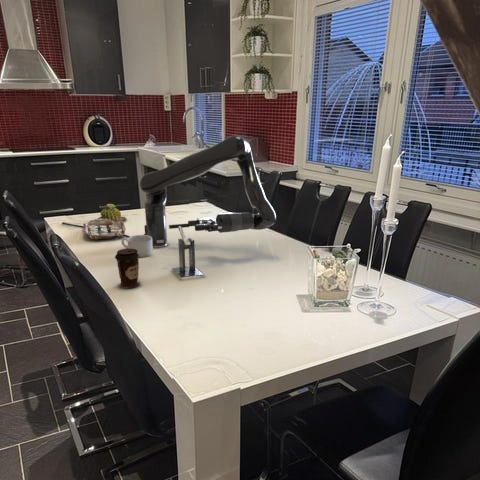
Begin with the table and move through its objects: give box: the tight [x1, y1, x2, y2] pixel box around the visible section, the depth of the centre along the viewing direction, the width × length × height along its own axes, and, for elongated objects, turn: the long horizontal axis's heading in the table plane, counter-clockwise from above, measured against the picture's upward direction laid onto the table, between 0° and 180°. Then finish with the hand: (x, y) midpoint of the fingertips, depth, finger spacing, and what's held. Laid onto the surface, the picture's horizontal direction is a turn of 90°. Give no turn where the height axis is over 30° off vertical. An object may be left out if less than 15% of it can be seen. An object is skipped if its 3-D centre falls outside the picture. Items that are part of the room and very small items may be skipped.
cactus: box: [97, 203, 127, 223], centre depth 266 cm, size 17×16×10 cm
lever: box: [168, 222, 191, 250], centre depth 180 cm, size 12×8×2 cm
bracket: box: [172, 237, 204, 279], centre depth 180 cm, size 12×9×14 cm
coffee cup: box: [114, 248, 140, 289], centre depth 167 cm, size 9×8×13 cm
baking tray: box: [81, 218, 127, 241], centre depth 236 cm, size 30×22×5 cm
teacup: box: [120, 234, 154, 259], centre depth 203 cm, size 14×11×8 cm
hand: (191, 225), depth 185 cm, fingers open, 8 cm apart
